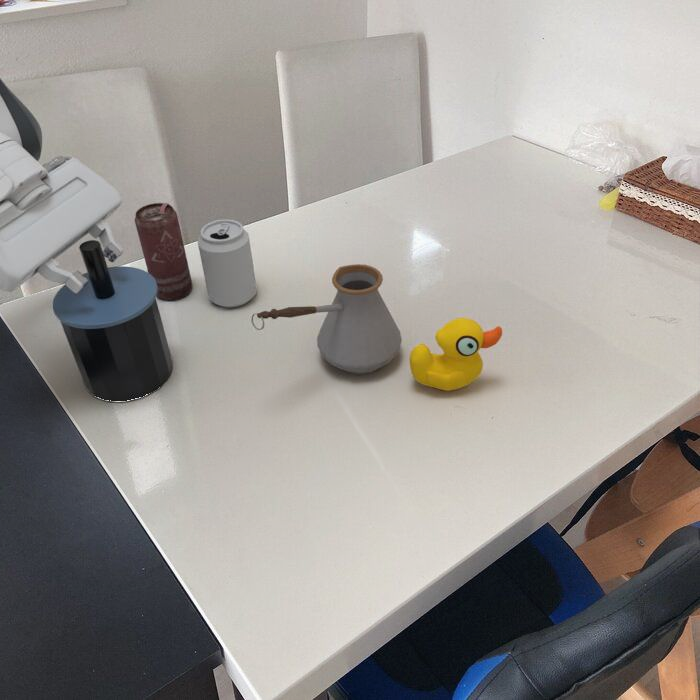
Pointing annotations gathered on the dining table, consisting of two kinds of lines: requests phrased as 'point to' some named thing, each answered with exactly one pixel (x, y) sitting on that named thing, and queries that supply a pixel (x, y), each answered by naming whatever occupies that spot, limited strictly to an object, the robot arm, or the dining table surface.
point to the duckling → (453, 355)
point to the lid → (105, 293)
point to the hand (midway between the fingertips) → (101, 272)
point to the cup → (123, 356)
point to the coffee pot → (352, 322)
